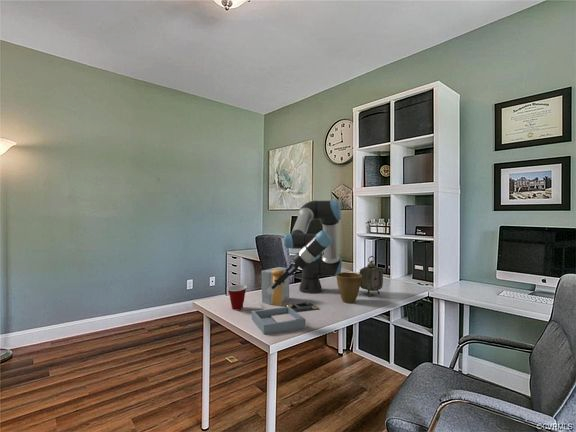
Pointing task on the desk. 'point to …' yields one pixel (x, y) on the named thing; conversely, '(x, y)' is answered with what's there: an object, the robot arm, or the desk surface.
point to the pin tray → (270, 325)
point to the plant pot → (348, 286)
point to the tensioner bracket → (302, 307)
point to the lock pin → (278, 291)
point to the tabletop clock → (371, 277)
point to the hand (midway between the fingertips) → (269, 291)
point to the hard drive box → (268, 281)
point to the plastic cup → (237, 296)
